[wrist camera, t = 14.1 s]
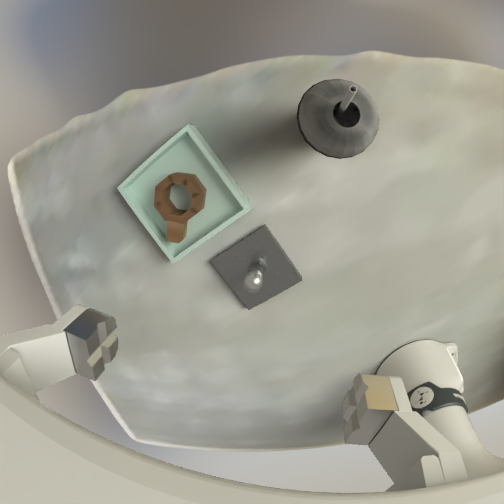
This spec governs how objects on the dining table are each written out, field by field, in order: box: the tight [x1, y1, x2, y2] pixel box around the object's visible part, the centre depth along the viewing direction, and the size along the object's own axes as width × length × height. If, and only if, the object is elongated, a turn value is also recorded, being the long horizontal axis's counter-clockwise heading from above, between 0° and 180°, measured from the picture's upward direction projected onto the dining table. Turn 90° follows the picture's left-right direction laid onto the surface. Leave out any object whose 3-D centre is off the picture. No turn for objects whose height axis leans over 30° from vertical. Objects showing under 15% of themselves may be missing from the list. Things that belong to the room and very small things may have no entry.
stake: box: [211, 225, 302, 310], centre depth 39 cm, size 9×9×5 cm
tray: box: [117, 125, 253, 264], centre depth 38 cm, size 13×13×2 cm
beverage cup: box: [297, 79, 379, 159], centre depth 25 cm, size 7×7×20 cm
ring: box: [154, 172, 207, 244], centre depth 38 cm, size 9×6×3 cm
